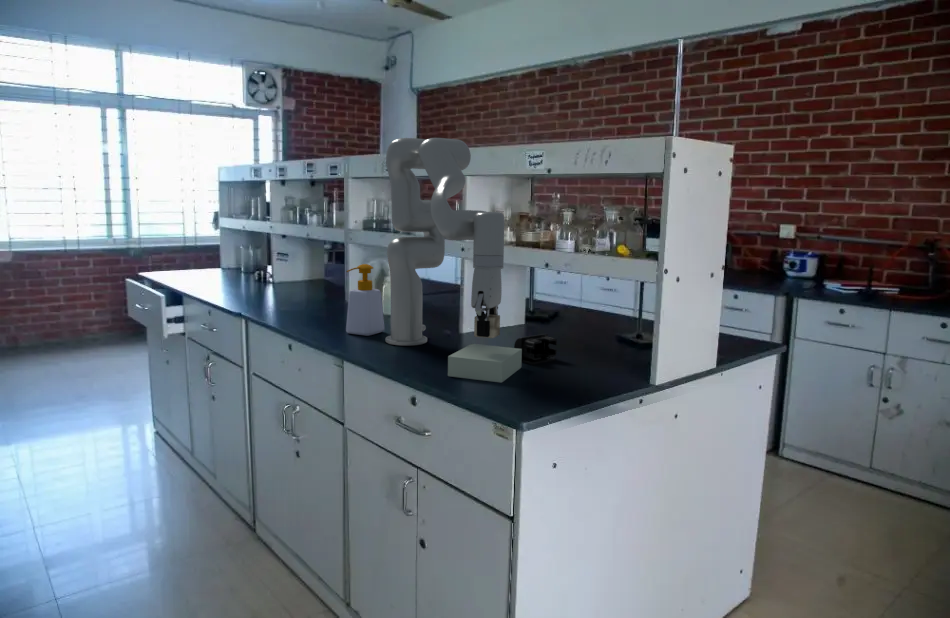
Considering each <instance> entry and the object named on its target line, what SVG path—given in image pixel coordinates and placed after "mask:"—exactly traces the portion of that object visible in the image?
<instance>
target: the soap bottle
mask: <svg viewBox="0 0 950 618" xmlns="http://www.w3.org/2000/svg"><path fill="white" fill-rule="evenodd" d="M373 269H374V267H373V266H372V265H370V264H368V263H361V264H360V265H358V266H357V267H352V268H350V269H347V270H346V273H349V272H351V271H354V270H358V273H359V274H362V275H361V276H362V279H360V280H357V288H355V289H352V290H350V291H349V293H348V303H347V313H346V326H345V332H346V333H347V334H350V335H357V336H358V335H359V336H363V337H365V336H366V337H369V336H372V335H377V334H379V333H383V332H384V331H385V322H384V319H385V318H384V310H383V301H382V300H383V299H382V292H381V290H380V289H377V288H373V280H370V279H368V277H369V276H368V274H371V273H372V270H373Z"/></svg>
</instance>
